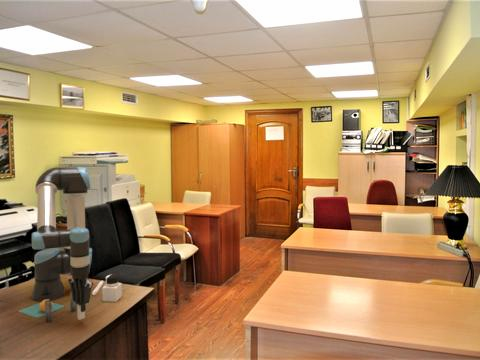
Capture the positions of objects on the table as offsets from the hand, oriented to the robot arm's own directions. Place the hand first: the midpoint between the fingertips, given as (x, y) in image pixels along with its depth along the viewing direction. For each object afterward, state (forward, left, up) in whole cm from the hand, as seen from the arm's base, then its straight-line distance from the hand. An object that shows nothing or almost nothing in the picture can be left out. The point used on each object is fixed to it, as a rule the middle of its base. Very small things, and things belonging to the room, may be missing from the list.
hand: (81, 318), depth 167 cm
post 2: (-13, +6, -2) cm, 15 cm away
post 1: (-13, -6, -2) cm, 15 cm away
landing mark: (-27, 0, -2) cm, 27 cm away
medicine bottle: (-8, +25, -2) cm, 26 cm away
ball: (-23, 0, +1) cm, 23 cm away
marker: (-24, +30, -3) cm, 39 cm away
